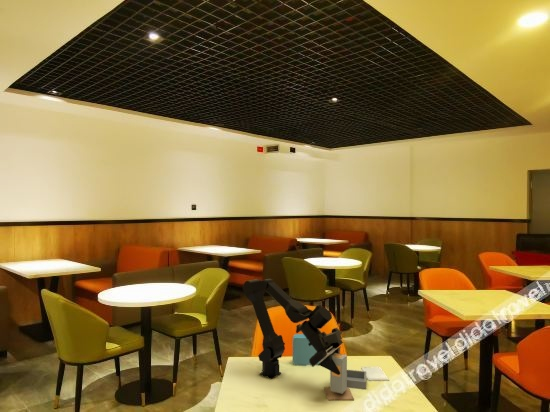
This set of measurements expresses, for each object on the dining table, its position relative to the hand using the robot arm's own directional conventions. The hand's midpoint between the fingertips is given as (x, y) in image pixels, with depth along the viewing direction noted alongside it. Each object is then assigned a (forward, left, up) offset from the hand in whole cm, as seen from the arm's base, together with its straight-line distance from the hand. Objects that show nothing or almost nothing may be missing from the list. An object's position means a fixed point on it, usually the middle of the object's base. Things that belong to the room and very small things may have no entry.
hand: (342, 371), depth 138 cm
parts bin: (-3, +12, -9) cm, 15 cm away
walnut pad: (-1, 0, -9) cm, 9 cm away
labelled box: (-1, 0, -7) cm, 7 cm away
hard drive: (0, +25, -9) cm, 26 cm away
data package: (-28, +16, -9) cm, 33 cm away
